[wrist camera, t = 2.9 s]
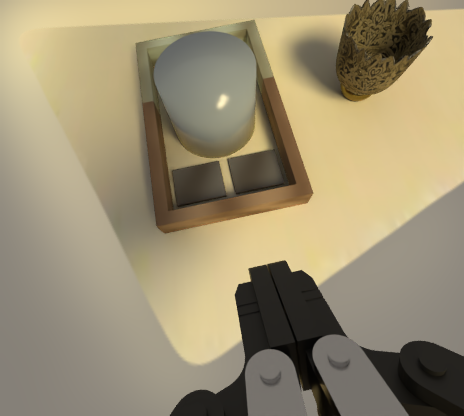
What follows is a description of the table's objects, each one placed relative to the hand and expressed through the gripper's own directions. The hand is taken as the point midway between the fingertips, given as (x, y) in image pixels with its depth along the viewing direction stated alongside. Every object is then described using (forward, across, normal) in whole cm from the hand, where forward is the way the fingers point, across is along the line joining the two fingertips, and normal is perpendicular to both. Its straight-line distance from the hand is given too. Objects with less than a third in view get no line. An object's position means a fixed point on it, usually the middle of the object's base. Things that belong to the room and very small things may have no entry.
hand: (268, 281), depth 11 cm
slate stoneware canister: (+23, 0, -3) cm, 24 cm away
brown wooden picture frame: (+23, 0, -3) cm, 24 cm away
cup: (+24, -16, -3) cm, 29 cm away
